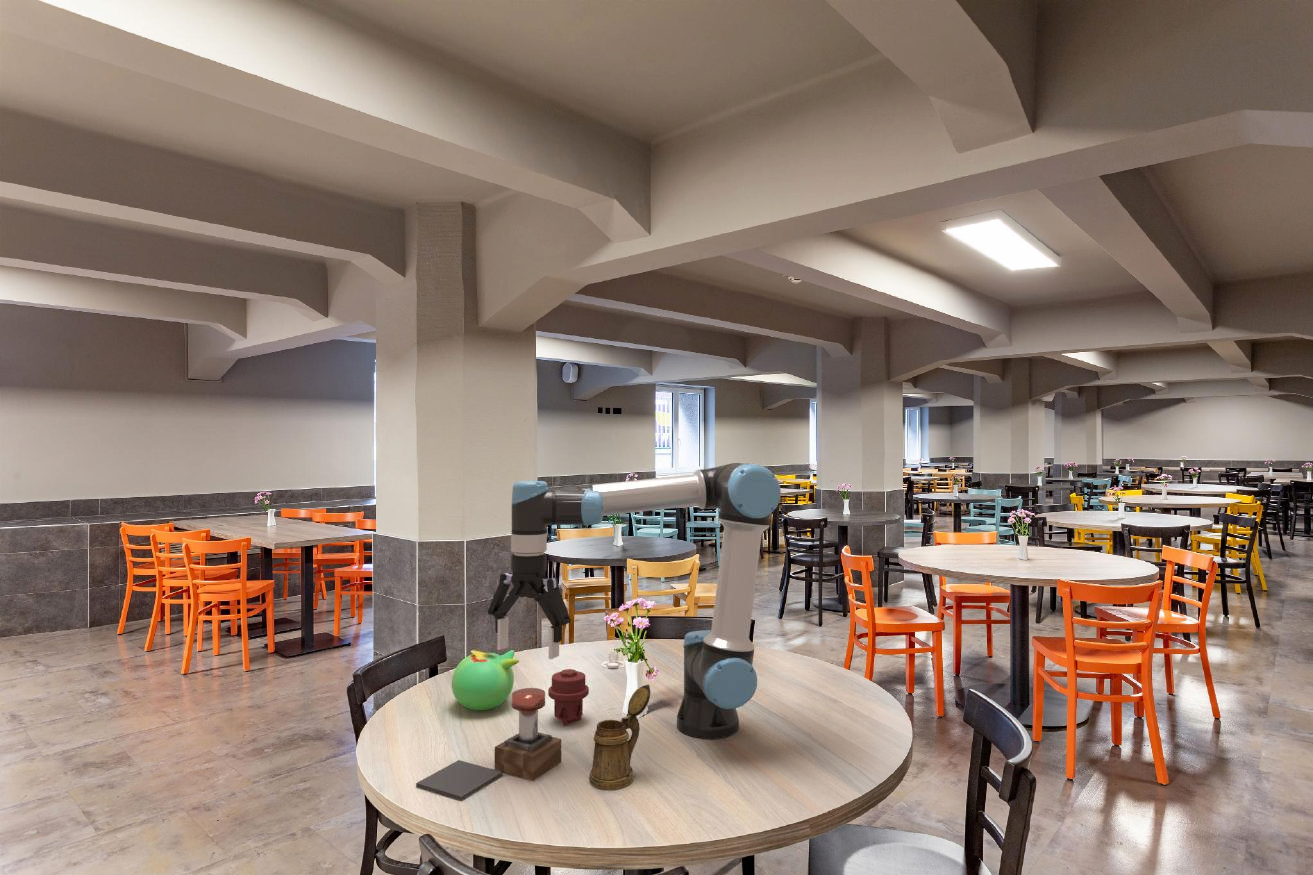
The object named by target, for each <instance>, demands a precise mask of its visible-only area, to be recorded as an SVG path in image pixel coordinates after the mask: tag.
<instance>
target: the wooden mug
mask: <svg viewBox="0 0 1313 875" xmlns="http://www.w3.org/2000/svg"><path fill="white" fill-rule="evenodd" d="M650 687H651V686H650V684H644V685H642V686H640V687H638V688H637V689H636V690H635V691H634V692H633V693H632V695H631V697H630V699H629V700H628V705H627V714H626V716H624V717H622V718H621V721H620V720H616V719H605V720H602V721H599V722H597V724H596V730H595V732H594V735H593V741H594V742H595V743H594V748H593V756H592V757H593V758H592V765H591V769H590V772H589V777H588V779H589V780H588V781H589V784H591V786H593V787H595V788H598V789H601V790H607V791H608V790H611V791H612V790H619V789H623V788H625V787H627V786H628V785H631V783H632V782H633V780H634V771H633V767H632V765H631V762H632V761H631V760H632V754H633V751H634V749H635V746H636V744H637V741H638V739H639V735H640V722H639V719H638V717H639V716H640V715H641V714H643V712H644V711H645V709H646V708H647V707H648V705H649V702H650V697H651V688H650ZM628 729H629V730H631V736H630V735H629V732H628ZM629 736H630V738H629Z"/></svg>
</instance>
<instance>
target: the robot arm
mask: <svg viewBox="0 0 1313 875" xmlns="http://www.w3.org/2000/svg"><path fill="white" fill-rule="evenodd" d="M511 492H512V493H511V538H510V551H511V553H513V554H512V555H511V556H510V571H511V572H512V573H511V572H510V571H509V572H505V573H501V574H500V575H499V581H498V582H499V583H498V586H497V587H496V590H495V593H494V596H493V598H492V599H491V603H490V605H489V606H488V607H489V608H488V609H487V614H488V615H489V616H493V617H494V619H495V622H494V623H495V624H494V625H495V627H494V628H495V634H496V633H497V646H496V647H497V651H502V650H504V649H506V648H507V649H508V648H509V619H510V617H508V613H509V611H510V610H511V609H512V607H513V606H514V605H515V604H516V601H518V600H519V598H524V597H525V598H527V599H534V601H536V602H537V603H538V605H539V607H540V609H541V610H542V611H543V613H544V614H545V616H546V618H547V619H548V621H549V623H550V625H551V626H549V627H548V659H549V660H553V659H555V658H558V657H560V642H562V641H563V626H564V625H568V624H570V623H571V620H572V619H571V617H570V615H569V612H568V609H567V606H566V603H565V600H564V598H563V596H562V593H561V590H560V587H559V579H558V577H552V578H546V571H547V566H548V565H547V563H548V562H547V554H546V551H547V548H548V544H547V543H548V542H547V539H548V538H547V537H548V535H547V534H548V526H557V525H558V526H562V525H563V526H587V527H588V526H589V525H590V526H592V525H600V523H602V521H603V518H604V516H611V515H619V514H628V513H629V514H630V513H639V512H648V511H657V510H667V509H676V508H687V507H698V508H699V509H700V510H706V509H719V512H718V513H719V515H718V521H719V522H720V523H721V525H722V526H723V534H722V535H723V536H722V542H721V551H720V559H719V567H718V575H717V582H716V590H715V596H714V597H715V599H714V605H713V614H712V621H711V630H710V629H708V630H694V631H689V632H687V633H686V634H685V636H684V638H683V639H684V641H683V645H682V646H683V696H682V700H681V702H680V705H679V709H678V712H677V715H676V728H677V729H678V731H680V732H681V733H682V734H684V735H687V736H690V737H693V738H699V739H721V738H726V737H729V736H732V735H734V734H735V733H737V732H738V731H739V729H740V719H739V715H738V714H739V713H738V711H737V709H738V708H741V707H743V706H744V705H745V704H747V702H749V701H751V699H752V698H753V697H754V695H755V693H756V691H757V687H758V676H757V672H756V669H755V667H754V666H753V663H754V653H755V645H754V644H753V643H752V641H751V640H750V632H751V631H750V630H751V623H752V622H751V621H752V615H753V607H754V601H755V600H754V599H755V598H754V597H755V590H756V581H757V573H758V567H759V560H760V559H759V558H760V551H761V550H760V549H761V543H762V542H761V541H762V534H763V532H765V531H766V530H767V529H768V528H770V524H771V516H772V513H773V512H774V511H775V510H776V509H777V508H778V505H779V503H780V500H781V493H782V492H781V486H780V483H779V481H778V479H777V477H776V476H775V473H773V472H772V471H771V470H769V469H768V468H766V467H765V466H762V465H760V464H756V463H748V462H747V463H741V462H732V463H728V464H727V463H726V464H723V465H719V466H716V467H715V466H714V467H710V468H704V469H703V468H702V469H697V470H695V472H694V473H693V474H686V475H675V476H664V477H655V478H645V479H644V478H643V479H637V480H626V481H619V482H618V481H615V482H607V483H598V484H589V485H580V486H575V485H567V486H564V487H563V488H561V489H559V490H555V489H553V490H552V489H549V487H548V482H546V481H543V480H520V481H519V480H518V481H516V482H514V484H513V485H512V490H511ZM511 583H512V586H513V587H512V588H511V590H510V591H509V588H510V586H511ZM546 589H547V590H546ZM508 591H509V592H508ZM507 594H508V595H507ZM506 596H507V597H506Z"/></svg>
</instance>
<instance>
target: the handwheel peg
mask: <svg viewBox="0 0 1313 875" xmlns="http://www.w3.org/2000/svg"><path fill="white" fill-rule="evenodd" d="M545 706H546V691H545V690H544V689H542V688H538V687H537V688H536V687H525V688H520V689H516V690H515V691H513V692H511V708H512V709H513V710H515V711H518V733H519V742H522V743H526V744H530V745H531V744H533V743H534V742H536V741H538V732H539V710H541V709H543V708H544V707H545Z"/></svg>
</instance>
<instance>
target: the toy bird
mask: <svg viewBox="0 0 1313 875" xmlns="http://www.w3.org/2000/svg"><path fill="white" fill-rule="evenodd" d="M470 653H471V654H470V655H468V656H466V657H465V658H463V659H462V660H461V661H460V662H459V663H458V664H457V666H456V667H455V669H454V670H453V675H452V680H451V688H452V693H453V695H454V697H455V700H457V701H458V702H459V704H460V705H462V706H463V707H466V708H467V709H470V710H475V711H487V710H492V709H495V708H497V707H499V706H500V705H501V704H503V703H504V702H505V701H506V700H507V699H508V697H509V696H510V694H512V690H513V688H514V684H515V683H514V681H515V675H514V670H513V667H514V666H515V665H517V664H518V663H519V662H520V659H518V658H514V656H515V650H512V649H511V650H509V651H506V653H504V654H502V655H500V654H497V653H494V652H491V651H479V650H473V649H472V650H470Z"/></svg>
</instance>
